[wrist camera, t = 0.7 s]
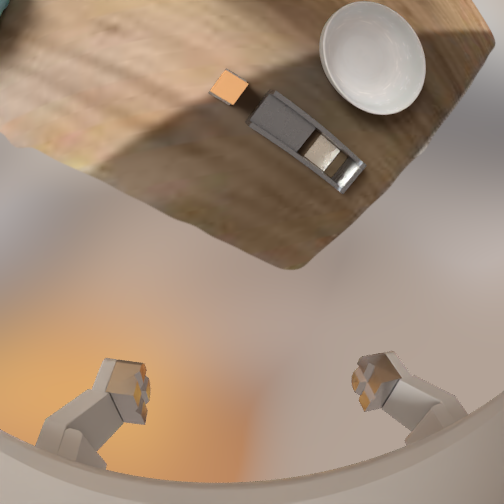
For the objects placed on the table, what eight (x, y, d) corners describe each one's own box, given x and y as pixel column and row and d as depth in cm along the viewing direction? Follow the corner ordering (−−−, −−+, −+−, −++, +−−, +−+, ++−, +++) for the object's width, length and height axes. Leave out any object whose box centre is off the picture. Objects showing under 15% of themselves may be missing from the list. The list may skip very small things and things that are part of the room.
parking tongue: (225, 68, 36) (226, 68, 35) (246, 81, 38) (247, 81, 37) (208, 92, 38) (208, 93, 37) (228, 104, 40) (229, 105, 39)
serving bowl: (287, 72, 38) (300, 71, 32) (336, -12, 27) (354, -21, 22) (377, 128, 45) (397, 137, 40) (417, 52, 35) (440, 54, 30)
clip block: (224, 70, 35) (225, 69, 32) (245, 83, 37) (248, 83, 34) (210, 90, 37) (210, 91, 34) (230, 102, 39) (233, 105, 36)
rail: (269, 89, 39) (276, 90, 35) (354, 156, 48) (366, 165, 44) (245, 122, 42) (249, 127, 38) (332, 183, 51) (342, 194, 47)
